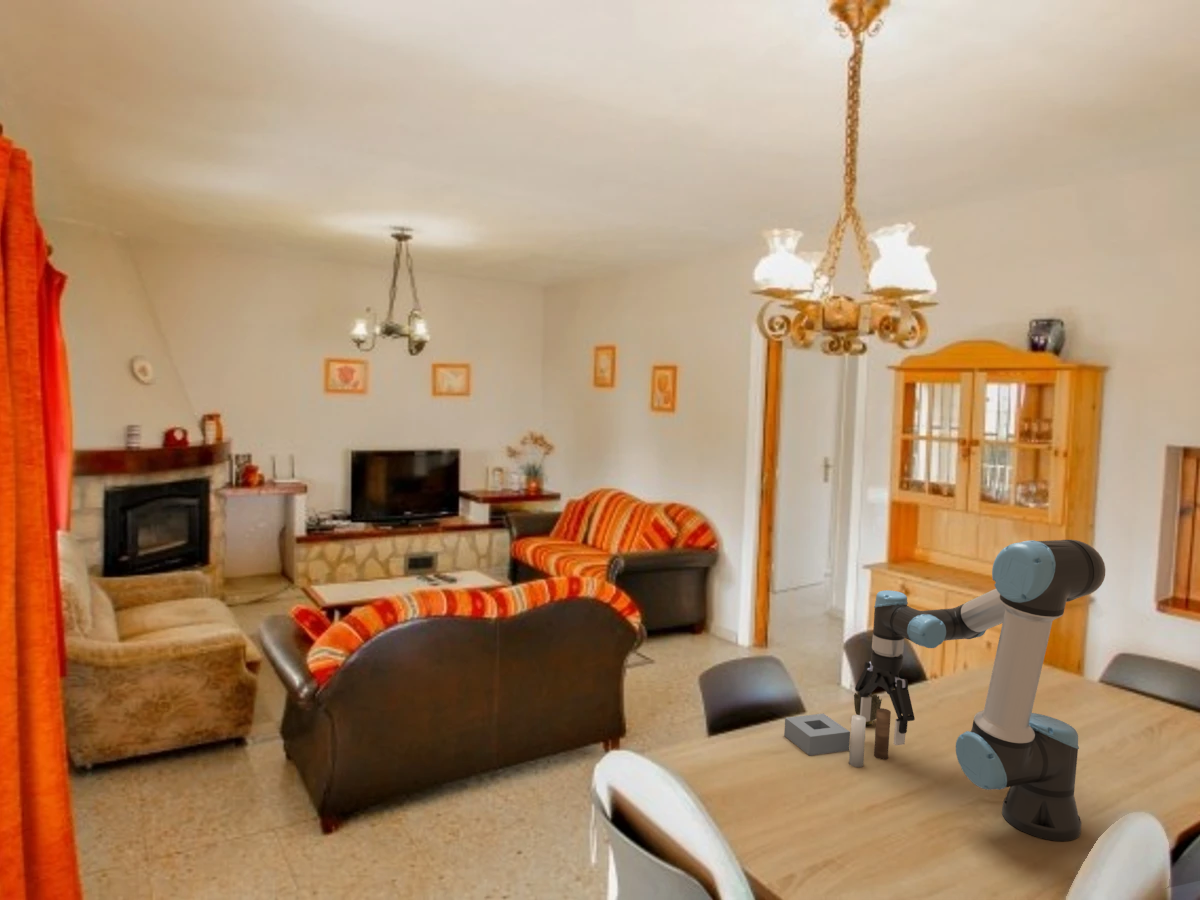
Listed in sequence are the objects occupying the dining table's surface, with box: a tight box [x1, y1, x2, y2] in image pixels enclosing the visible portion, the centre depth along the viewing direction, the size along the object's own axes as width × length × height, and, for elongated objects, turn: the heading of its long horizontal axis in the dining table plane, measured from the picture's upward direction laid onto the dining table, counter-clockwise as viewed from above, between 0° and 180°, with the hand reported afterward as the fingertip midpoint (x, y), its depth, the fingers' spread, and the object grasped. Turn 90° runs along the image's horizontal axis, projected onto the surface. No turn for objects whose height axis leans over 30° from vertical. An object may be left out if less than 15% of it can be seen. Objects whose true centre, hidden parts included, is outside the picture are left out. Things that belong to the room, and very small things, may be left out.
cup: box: [853, 691, 883, 727], centre depth 224 cm, size 8×7×8 cm
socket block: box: [783, 713, 851, 757], centre depth 211 cm, size 12×12×5 cm
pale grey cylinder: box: [848, 714, 867, 768], centre depth 199 cm, size 3×3×12 cm
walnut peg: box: [873, 707, 892, 760], centre depth 204 cm, size 3×3×12 cm
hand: (881, 732), depth 204 cm, fingers open, 13 cm apart
